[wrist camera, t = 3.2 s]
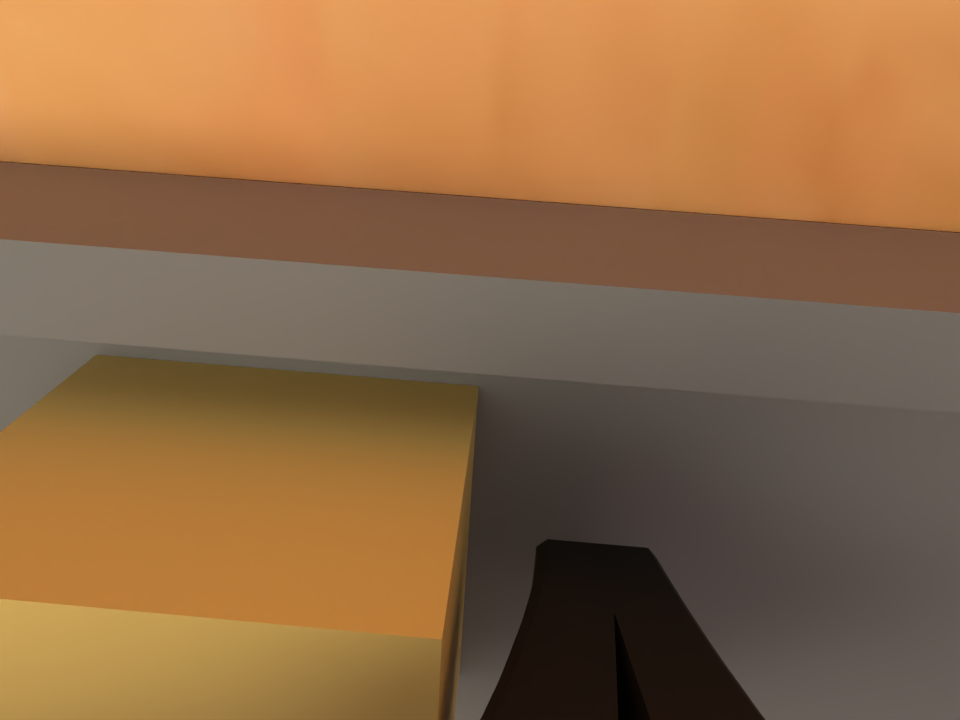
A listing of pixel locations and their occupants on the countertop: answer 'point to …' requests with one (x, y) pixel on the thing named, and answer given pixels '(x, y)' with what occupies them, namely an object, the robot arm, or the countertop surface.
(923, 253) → the trap tray
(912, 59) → the countertop surface
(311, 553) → the block
